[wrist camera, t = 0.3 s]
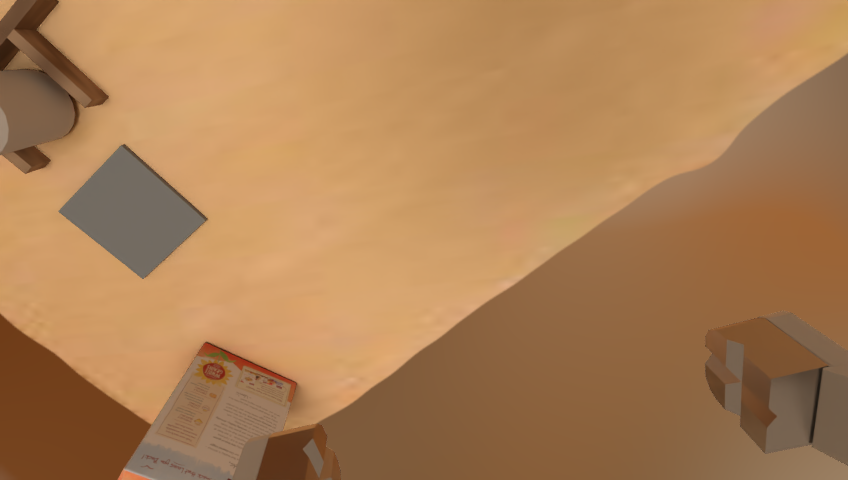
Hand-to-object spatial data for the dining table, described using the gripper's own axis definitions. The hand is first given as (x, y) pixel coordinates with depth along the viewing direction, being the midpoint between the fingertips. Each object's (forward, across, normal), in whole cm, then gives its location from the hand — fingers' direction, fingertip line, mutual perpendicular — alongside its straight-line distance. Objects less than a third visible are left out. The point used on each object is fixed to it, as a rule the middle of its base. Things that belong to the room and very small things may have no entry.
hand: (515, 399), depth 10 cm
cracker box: (+48, +32, +31) cm, 65 cm away
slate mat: (+48, +36, +5) cm, 60 cm away
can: (+49, +39, -9) cm, 63 cm away
